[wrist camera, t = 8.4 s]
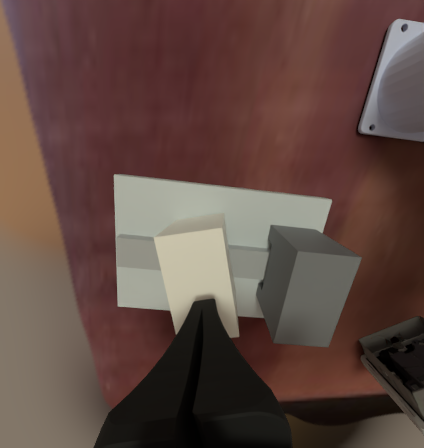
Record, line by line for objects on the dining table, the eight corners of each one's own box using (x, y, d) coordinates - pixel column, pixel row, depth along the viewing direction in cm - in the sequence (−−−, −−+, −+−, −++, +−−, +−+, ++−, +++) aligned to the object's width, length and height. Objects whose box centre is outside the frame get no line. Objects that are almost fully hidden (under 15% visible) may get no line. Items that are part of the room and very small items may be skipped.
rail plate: (324, 197, 19) (388, 216, 13) (291, 313, 24) (326, 375, 17) (119, 174, 18) (66, 180, 12) (122, 298, 22) (84, 358, 16)
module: (223, 212, 18) (222, 227, 12) (236, 297, 20) (240, 346, 14) (176, 219, 19) (153, 237, 13) (193, 302, 20) (179, 351, 14)
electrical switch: (359, 360, 26) (434, 456, 17) (345, 330, 25) (417, 414, 16) (430, 333, 25) (552, 420, 16) (418, 301, 24) (540, 373, 15)
